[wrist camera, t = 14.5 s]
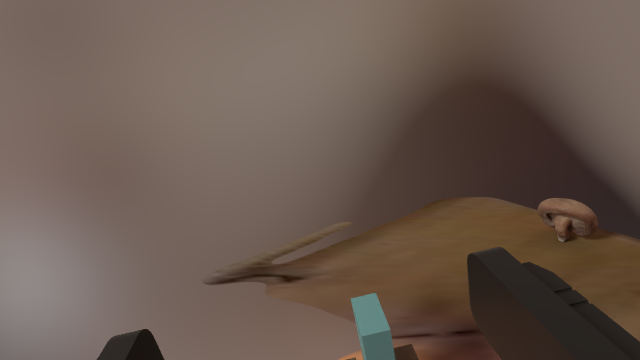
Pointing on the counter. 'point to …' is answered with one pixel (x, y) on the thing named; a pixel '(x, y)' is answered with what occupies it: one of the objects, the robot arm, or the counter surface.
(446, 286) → the counter surface
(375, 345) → the rectangular block
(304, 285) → the counter surface
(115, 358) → the robot arm
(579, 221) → the mushroom
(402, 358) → the rack
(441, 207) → the counter surface
